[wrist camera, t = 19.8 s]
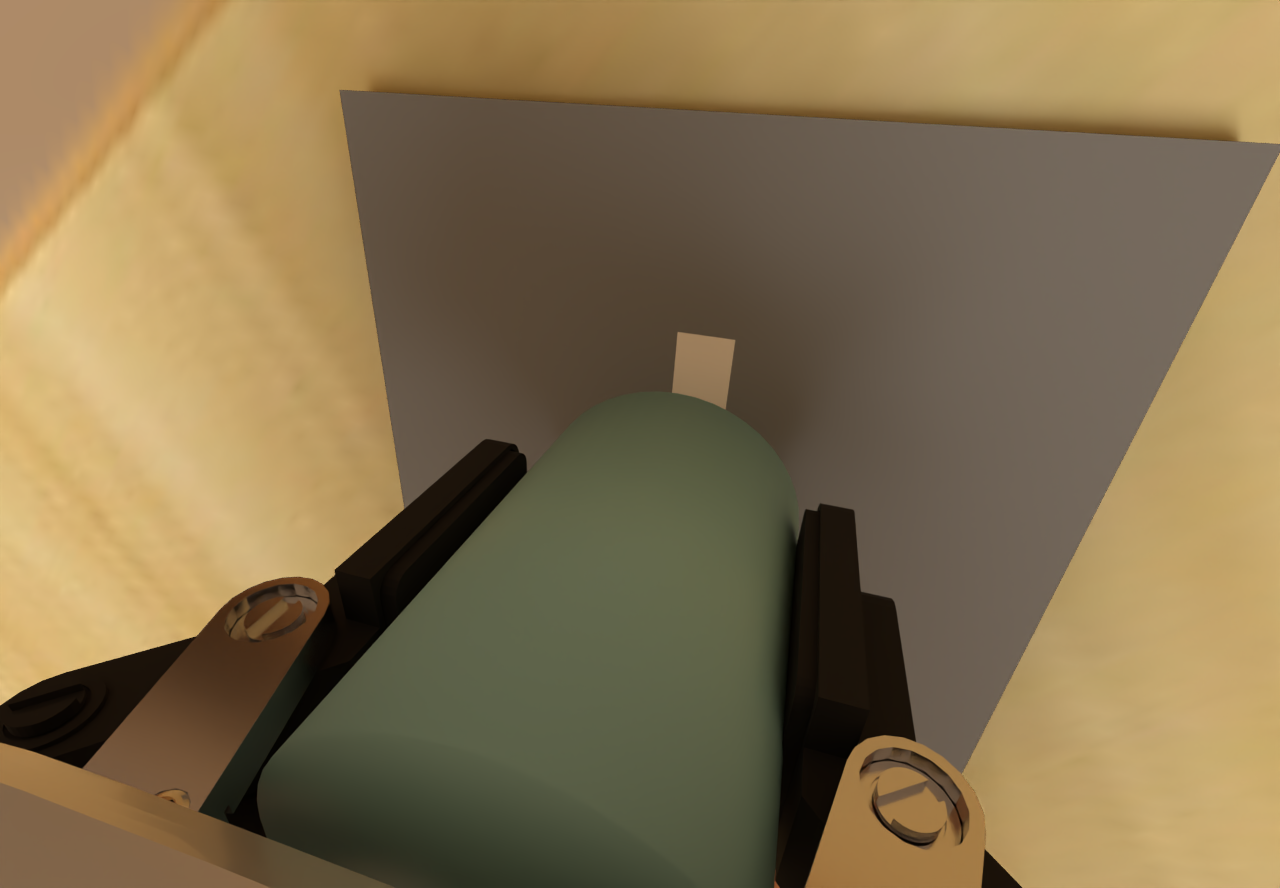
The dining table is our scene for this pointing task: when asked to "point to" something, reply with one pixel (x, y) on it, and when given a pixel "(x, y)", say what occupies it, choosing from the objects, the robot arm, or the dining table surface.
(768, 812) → the cylinder
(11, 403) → the dining table surface
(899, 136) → the board
